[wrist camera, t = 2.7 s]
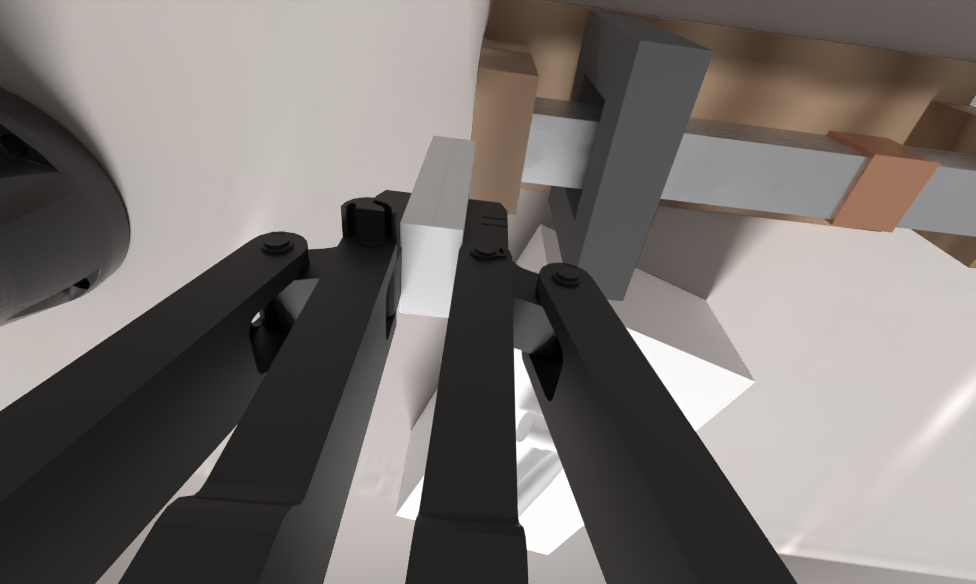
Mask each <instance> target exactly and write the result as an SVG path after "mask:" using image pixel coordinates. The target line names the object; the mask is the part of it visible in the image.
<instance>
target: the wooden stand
mask: <svg viewBox="0 0 976 584" xmlns="http://www.w3.org/2000/svg"><path fill="white" fill-rule="evenodd" d="M589 10H595V11H602V12H609V13H616V14H623V15H630V16H637V17H639V18H642V19H644V20H646V21H648V22H651V23H653V24H655V25H657V26H659V27H662V28H664V29H666V30H668V31H671V32H673V33H675V34H677V35H679V36H682V37H684V38H686V39H688V40H691V41H693V42H695V43H697V44H700V45H702V46H704V47H706V48H708V49H711V50H713V51H714V53H713V55H712V58H711V61H710V64H709V66H708V69H707V72H706V75H705V77H704V80H703V83H702V86H701V88H700V91H699V94H698V97H697V99H696V102H695V105H694V108H693V110H692V113H691V116H690V117H693V118H701V119H708V120H716V121H723V122H731V123H738V124H746V125H754V126H761V127H769V128H776V129H784V130H792V131H799V132H807V133H814V134H822V135H827V134H828V132H829V130H832V131H840V132H848V133H855V134H863V135H870V136H878V137H885V138H889V139H891V140H893V141H895V142H898V143H900V144H902V145H905V146H913V147H921V148H928V149H936V150H943V151H951V152H958V153H966V154H974V155H976V107H973V106H970V105H969V104H970V103H971V101H972V100H973V98H974V97H975V95H976V62H969V61H962V60H955V59H948V58H941V57H934V56H927V55H920V54H913V53H907V52H900V51H893V50H886V49H879V48H872V47H865V46H858V45H851V44H844V43H837V42H830V41H823V40H816V39H809V38H802V37H796V36H789V35H782V34H775V33H768V32H761V31H754V30H747V29H740V28H733V27H726V26H719V25H712V24H705V23H698V22H692V21H685V20H678V19H671V18H664V17H657V16H650V15H643V14H636V13H629V12H622V11H615V10H608V9H601V8H594V7H587V6H581V5H574V4H567V3H560V2H553V1H546V0H491V2H490V12H489V21H488V30H487V36H483V40H482V47H481V53H480V59H479V65H478V73H477V83H476V93H475V103H474V114H473V124H472V134H471V141H476V147H475V156H474V165H473V175H472V184H471V194H470V199H474V200H483V201H491V202H499V203H501V204H502V205H503V206H504V208H505V209H506V210H507V214H516V208H517V203H518V197H519V191H520V189H528V190H536V191H544V192H550V191H551V186H552V185H543V184H535V183H527V182H521V179H522V173H523V167H524V162H525V156H526V150H527V144H528V138H529V132H530V127H531V121H532V115H533V109H534V103H535V97H541V98H549V99H556V100H564V101H570V97H571V92H572V87H573V83H574V78H575V73H576V69H577V64H578V59H579V55H580V50H581V45H582V40H583V36H584V31H585V26H586V22H587V17H588V12H589ZM658 205H661V206H669V207H678V208H686V209H694V210H703V211H711V212H719V213H728V214H736V215H744V216H753V217H761V218H769V219H778V220H786V221H794V222H803V223H811V224H819V225H828V226H835V225H831V224H830V223H828V222H827V221H826V220H825V219H824V218H816V217H808V216H800V215H792V214H783V213H775V212H767V211H759V210H750V209H742V208H734V207H725V206H717V205H709V204H701V203H692V202H684V201H676V200H668V199H660V201H659V204H658ZM836 227H843V226H836ZM844 228H852V227H844ZM853 229H860V228H853ZM861 230H868V229H861ZM912 230H913V231H915V232H916V233H918V234H919V235H921V236H922V237H924V238H925V239H927V240H928V241H930V242H931V243H933V244H934V245H936V246H937V247H939V248H940V249H942V250H943V251H945V252H946V253H948V254H949V255H951V256H952V257H954V258H955V259H957V260H958V261H960V262H961V263H963V264H964V265H966V266H967V267H969V268H976V237H974V236H965V235H957V234H949V233H941V232H932V231H924V230H916V229H912ZM869 231H877V230H869ZM878 232H881V231H878Z"/></svg>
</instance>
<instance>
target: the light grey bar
mask: <svg viewBox="0 0 976 584" xmlns="http://www.w3.org/2000/svg"><path fill="white" fill-rule="evenodd" d="M603 108H604V106H602V105H594V104H587V103H579V102H572V101H564V100H556V99H549V98H541V97H535V103H534V109H533V115H532V121H531V127H530V132H529V138H528V144H527V150H526V156H525V162H524V167H523V173H522V179H521V182H527V183H535V184H543V185H552V186H560V187H568V188H577V189H583V186H584V182H585V179H586V175H587V171H588V167H589V163H590V159H591V155H592V151H593V147H594V143H595V139H596V136H597V132H598V128H599V124H600V120H601V116H602V112H603ZM660 199H668V200H676V201H684V202H692V203H701V204H709V205H717V206H725V207H734V208H742V209H750V210H759V211H767V212H775V213H783V214H792V215H800V216H808V217H816V218H824V219H825V220H826V221H827V222H828V223H830V224H831V225H835V226H843V227H852V228H860V229H868V230H877V231H885V232H892V231H893V230H894V229H895V227H899V228H907V229H916V230H924V231H932V232H941V233H949V234H957V235H965V236H974V237H976V155H974V154H966V153H958V152H951V151H943V150H936V149H928V148H921V147H913V146H905V145H902V144H900V143H898V142H895V141H893V140H891V139H889V138H885V137H878V136H870V135H863V134H855V133H848V132H840V131H832V130H829V132H828V134H827V135H822V134H814V133H807V132H799V131H792V130H784V129H776V128H769V127H761V126H754V125H746V124H738V123H731V122H723V121H716V120H708V119H701V118H693V117H690V118H689V121H688V124H687V127H686V129H685V132H684V135H683V138H682V140H681V143H680V146H679V149H678V151H677V154H676V157H675V160H674V162H673V165H672V168H671V171H670V173H669V176H668V179H667V182H666V184H665V187H664V190H663V193H662V195H661V198H660Z"/></svg>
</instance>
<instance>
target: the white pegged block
mask: <svg viewBox="0 0 976 584" xmlns="http://www.w3.org/2000/svg"><path fill="white" fill-rule="evenodd" d="M557 262H558V263H562V258H561V253H560V249H559V244H558V239H557V235H556V231H555V230H553V229H551V228H548V227H546V226H544V225H542V224H540V225H539V227H538V229H537V230H536V232H535V233H534V235H533V237H532V238H531V240H530V241H529V243H528V245H527V246H526V248H525V249H524V251H523V252H522V254H521V256H520V257H519V259H518V260H517V262H516V264H517V265H518V266H520V267H522V268H524V269H526V270H529V271H532V272H535V273H538V274H539V272H540V270H541V268H542V267H543V266H545V265H547V264H550V263H557ZM608 302H609V303H610V305H611V306H612V308H613V309H614V311H615V312H616V314H617V315H618V317H619V318H620V320H621V321H622V323H623V324H624V326H625V327H626V329H627V330H628V332H629V333H630V335H631V336H632V338H633V339H634V341H635V342H636V344H637V345H638V347H639V348H640V349H641V351H642V352H643V354H644V355H645V357H646V358H647V360H648V361H649V363H650V364H651V366H652V367H653V369H654V370H655V372H656V373H657V375H658V376H659V378H660V379H661V381H662V382H663V384H664V385H665V387H666V388H667V390H668V391H669V393H670V394H671V396H672V397H673V399H674V400H675V402H676V403H677V405H678V406H679V408H680V409H681V411H682V412H683V414H684V415H685V417H686V418H687V420H688V421H689V423H690V424H691V426H692V427H693V429H694V430H695V432H696V431H697V430H698V429H699V428H700V427H702V426H703V425H704V424H705V423H706V422H708V421H709V420H710V419H711V418H712V417H714V416H715V415H716V414H717V413H718V412H720V411H721V410H722V409H723V408H724V407H726V406H727V405H728V404H729V403H730V402H732V401H733V400H734V399H735V398H736V397H738V396H739V395H740V394H741V393H742V392H744V391H745V390H746V389H747V388H748V387H750V386H751V385H752V384H753V383H754V382H755V381H754V379H753V377H752V376H751V374H750V372H749V371H748V369H747V367H746V366H745V364H744V362H743V361H742V359H741V357H740V356H739V354H738V352H737V351H736V349H735V347H734V346H733V344H732V343H731V341H730V339H729V338H728V336H727V334H726V333H725V331H724V329H723V328H722V326H721V324H720V323H719V321H718V319H717V318H716V316H715V314H714V313H713V311H712V310H711V308H710V306H709V305H708V303H707V301H706V300H704V299H702V298H700V297H698V296H696V295H693V294H691V293H689V292H687V291H685V290H683V289H680V288H678V287H676V286H674V285H672V284H670V283H667V282H665V281H663V280H661V279H659V278H657V277H654V276H652V275H650V274H648V273H646V272H644V271H641V270H639V269H637V268H635V270H634V272H633V275H632V278H631V281H630V283H629V286H628V289H627V292H626V294H625V297H624V300H623V301H616V300H608ZM521 352H522V351H521V350H518V349H516V348H514V374H515V415H516V455H517V495H518V519H519V523H520V524H521V525H522V526H523V527H524V531H525V535H526V545H527V550H531V551H535V552H539V553H543V554H547V555H548V554H550V553H551V552H552V551H553V550H554V549H555V548H557V547H558V546H559V545H560V544H562V543H563V542H564V541H565V540H566V539H567V538H569V537H570V536H571V535H572V534H573V533H575V532H576V531H577V530H578V529H579V528H581V527H582V526H583V525H584V522H583V520H582V517H581V514H580V512H579V509H578V506H577V504H576V501H575V498H574V496H573V493H572V490H571V488H570V485H569V482H568V480H567V477H566V474H565V472H564V469H563V466H562V464H561V461H560V458H559V456H558V453H557V450H556V448H555V445H554V442H553V440H552V437H551V434H550V432H549V429H548V427H547V424H546V421H545V419H544V416H543V413H542V411H541V408H540V405H539V403H538V400H537V397H536V395H535V392H534V389H533V387H532V384H531V381H530V379H529V376H528V373H527V371H526V368H525V365H524V363H523V360H522V353H521ZM437 390H438V388H437ZM437 390H436V391H435V393H434V395H433V396H432V398H431V399H430V401H429V403H428V404H427V406H426V407H425V409H424V411H423V412H422V414H421V415H420V417H419V419H418V420H417V422H416V423H415V425H414V427H413V428H412V430H411V432H410V438H409V443H408V449H407V455H406V460H405V466H404V471H403V477H402V483H401V488H400V494H399V499H398V505H397V511H396V515H397V516H401V517H404V518H408V519H412V520H416V517H417V515H418V512H419V506H420V500H421V494H422V487H423V481H424V474H425V468H426V461H427V455H428V448H429V442H430V435H431V429H432V422H433V416H434V409H435V403H436V396H437Z"/></svg>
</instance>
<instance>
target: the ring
mask: <svg viewBox="0 0 976 584" xmlns="http://www.w3.org/2000/svg"><path fill="white" fill-rule="evenodd" d="M713 53H714V51H713V50H711V49H708V48H706V47H704V46H702V45H700V44H697V43H695V42H693V41H691V40H688V39H686V38H684V37H682V36H679V35H677V34H675V33H673V32H671V31H668V30H666V29H664V28H662V27H659V26H657V25H655V24H653V23H651V22H648V21H646V20H644V19H642V18H639V17H637V16H630V15H623V14H616V13H609V12H602V11H595V10H589V12H588V17H587V22H586V26H585V31H584V36H583V40H582V45H581V50H580V55H579V59H578V64H577V69H576V73H575V78H574V83H573V87H572V92H571V97H570V101H572V102H579V103H587V104H594V105H602V106H604V108H603V112H602V116H601V120H600V124H599V128H598V132H597V136H596V139H595V143H594V147H593V151H592V155H591V159H590V163H589V167H588V171H587V175H586V179H585V182H584V186H583V189H577V188H568V187H560V186H551V191H550V196H549V202H550V206H551V211H552V216H553V221H554V225H555V230H556V235H557V239H558V244H559V249H560V253H561V258H562V263H569V264H571V265H572V264H573V265H575V266H578V267H579V268H581V269H583V270H585V271H586V272H587V273H588V274H589V275H590V276H591V277H592V278H593V279H594V281H595V282H596V284H597V285H598V287H599V288H600V290H601V291H602V293H603V294H604V296H605V297H606V299H607V300H616V301H623V300H624V297H625V294H626V292H627V289H628V286H629V283H630V281H631V278H632V275H633V272H634V270H635V267H636V264H637V261H638V259H639V256H640V253H641V250H642V248H643V245H644V242H645V239H646V237H647V234H648V231H649V228H650V226H651V223H652V220H653V217H654V215H655V212H656V209H657V206H658V204H659V201H660V198H661V195H662V193H663V190H664V187H665V184H666V182H667V179H668V176H669V173H670V171H671V168H672V165H673V162H674V160H675V157H676V154H677V151H678V149H679V146H680V143H681V140H682V138H683V135H684V132H685V129H686V127H687V124H688V121H689V118H690V116H691V113H692V110H693V108H694V105H695V102H696V99H697V97H698V94H699V91H700V88H701V86H702V83H703V80H704V77H705V75H706V72H707V69H708V66H709V64H710V61H711V58H712V55H713Z"/></svg>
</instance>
